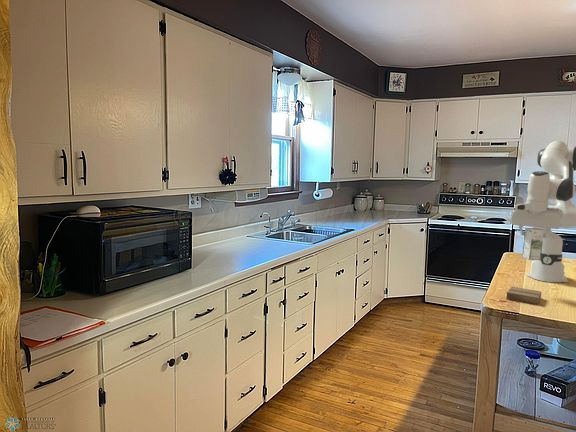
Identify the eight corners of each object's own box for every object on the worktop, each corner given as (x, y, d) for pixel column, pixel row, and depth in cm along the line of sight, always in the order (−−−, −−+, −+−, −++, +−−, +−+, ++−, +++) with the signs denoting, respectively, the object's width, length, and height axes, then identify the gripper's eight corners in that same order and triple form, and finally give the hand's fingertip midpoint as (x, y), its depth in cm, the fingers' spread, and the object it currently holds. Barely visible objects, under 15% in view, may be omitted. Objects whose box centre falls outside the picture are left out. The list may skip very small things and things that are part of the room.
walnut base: (511, 292, 200) (511, 286, 199) (540, 298, 193) (541, 291, 192) (506, 298, 190) (506, 292, 190) (537, 304, 183) (537, 298, 183)
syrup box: (533, 257, 204) (536, 227, 202) (541, 260, 198) (544, 229, 196) (521, 257, 204) (524, 227, 202) (529, 260, 198) (532, 229, 196)
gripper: (563, 208, 194) (560, 238, 196) (513, 204, 206) (511, 232, 208) (562, 209, 189) (559, 240, 191) (511, 205, 201) (508, 234, 203)
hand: (533, 236), depth 199 cm, fingers closed on syrup box, 8 cm apart
